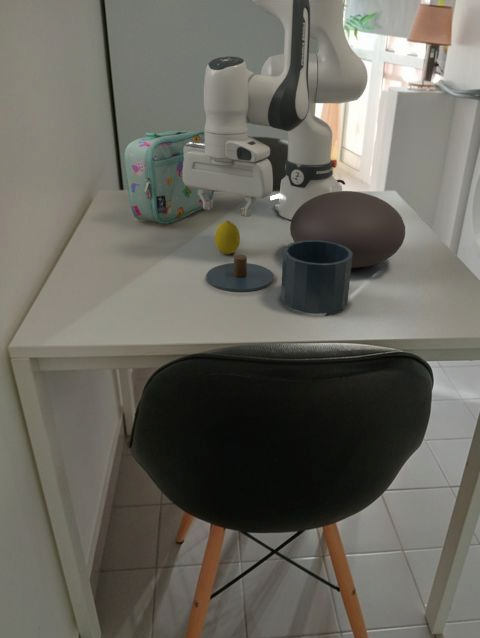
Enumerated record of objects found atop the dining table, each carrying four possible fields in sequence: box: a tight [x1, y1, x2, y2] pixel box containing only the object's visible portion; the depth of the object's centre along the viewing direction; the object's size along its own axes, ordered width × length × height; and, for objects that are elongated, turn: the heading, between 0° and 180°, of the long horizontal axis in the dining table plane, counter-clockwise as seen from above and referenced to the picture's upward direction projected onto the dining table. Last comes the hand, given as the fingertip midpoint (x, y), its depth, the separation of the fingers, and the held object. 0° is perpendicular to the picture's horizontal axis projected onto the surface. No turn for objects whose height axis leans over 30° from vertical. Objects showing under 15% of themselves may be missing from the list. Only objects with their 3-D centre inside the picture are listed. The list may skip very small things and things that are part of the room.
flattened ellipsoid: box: [289, 190, 406, 269], centre depth 131 cm, size 25×25×15 cm
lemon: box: [214, 220, 241, 255], centre depth 134 cm, size 6×6×8 cm
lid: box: [206, 254, 275, 293], centre depth 123 cm, size 14×14×5 cm
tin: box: [280, 240, 353, 317], centre depth 114 cm, size 13×13×10 cm
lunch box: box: [123, 129, 215, 225], centre depth 155 cm, size 27×10×21 cm, turn 150°
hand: (226, 212), depth 131 cm, fingers open, 8 cm apart
